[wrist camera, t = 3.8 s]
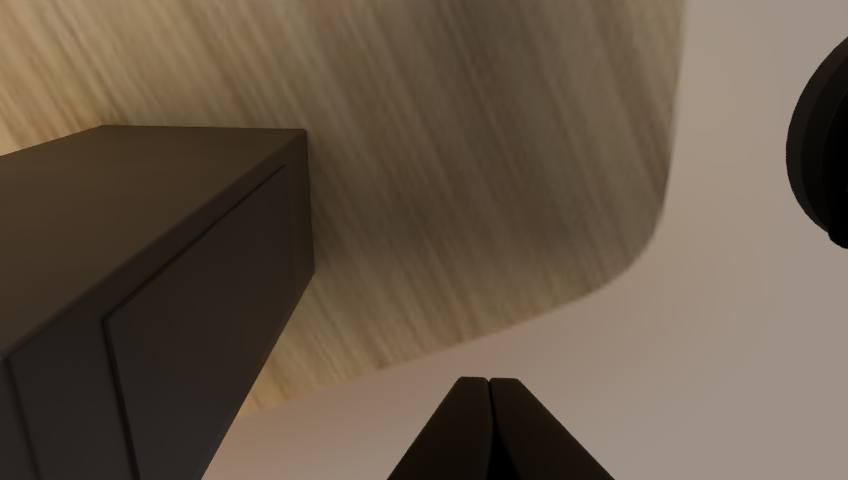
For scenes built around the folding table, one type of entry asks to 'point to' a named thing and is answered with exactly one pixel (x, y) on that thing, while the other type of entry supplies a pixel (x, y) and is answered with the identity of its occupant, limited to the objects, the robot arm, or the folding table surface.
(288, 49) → the folding table surface
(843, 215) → the robot arm
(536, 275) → the folding table surface
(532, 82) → the folding table surface
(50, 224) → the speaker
